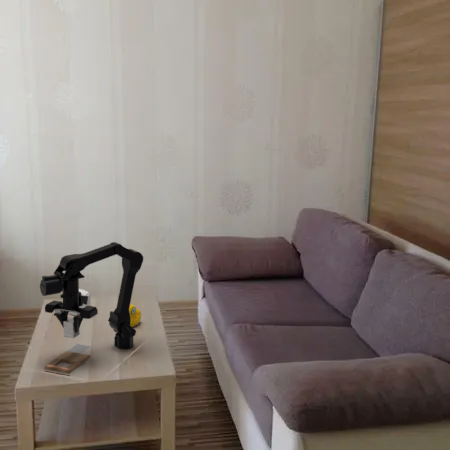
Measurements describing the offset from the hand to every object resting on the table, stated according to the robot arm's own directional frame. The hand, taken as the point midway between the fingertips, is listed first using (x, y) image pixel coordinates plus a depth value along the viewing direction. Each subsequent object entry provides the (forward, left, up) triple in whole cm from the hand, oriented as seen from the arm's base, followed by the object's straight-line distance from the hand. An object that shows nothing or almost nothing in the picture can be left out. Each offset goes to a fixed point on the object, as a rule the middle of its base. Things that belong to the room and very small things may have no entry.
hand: (71, 331), depth 209 cm
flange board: (0, +3, -12) cm, 12 cm away
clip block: (0, 0, -2) cm, 2 cm away
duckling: (-4, -40, -12) cm, 42 cm away
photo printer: (+23, -43, -12) cm, 50 cm away
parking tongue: (+3, -9, -12) cm, 15 cm away
